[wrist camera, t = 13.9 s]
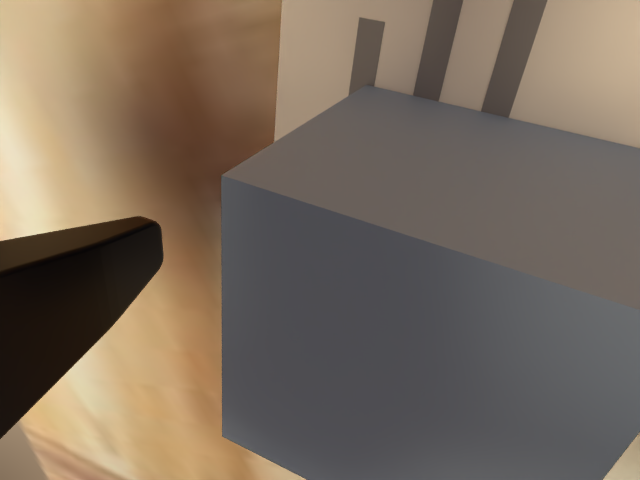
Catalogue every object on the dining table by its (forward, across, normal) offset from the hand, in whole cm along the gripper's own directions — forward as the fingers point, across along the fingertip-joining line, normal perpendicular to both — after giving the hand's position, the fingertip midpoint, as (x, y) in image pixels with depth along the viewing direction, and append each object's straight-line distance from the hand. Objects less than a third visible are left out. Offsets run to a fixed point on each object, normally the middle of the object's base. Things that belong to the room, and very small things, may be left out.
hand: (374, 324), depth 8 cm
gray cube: (+3, -1, 0) cm, 3 cm away
